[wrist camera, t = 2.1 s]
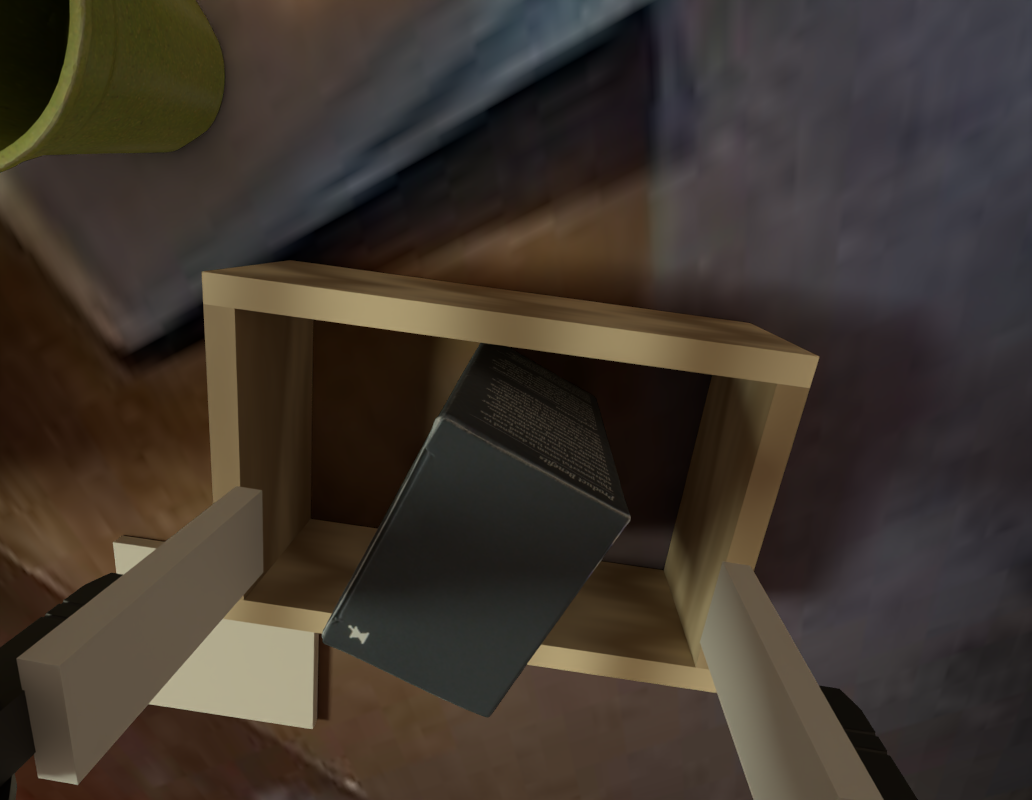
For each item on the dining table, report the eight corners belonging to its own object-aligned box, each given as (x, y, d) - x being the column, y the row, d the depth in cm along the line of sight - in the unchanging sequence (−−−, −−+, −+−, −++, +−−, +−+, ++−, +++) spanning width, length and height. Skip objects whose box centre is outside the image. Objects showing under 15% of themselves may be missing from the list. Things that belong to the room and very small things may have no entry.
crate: (290, 533, 27) (218, 618, 21) (290, 259, 23) (201, 271, 17) (680, 591, 26) (716, 692, 20) (750, 323, 22) (819, 356, 16)
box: (512, 532, 26) (487, 728, 16) (405, 475, 25) (309, 641, 15) (601, 395, 24) (638, 522, 13) (486, 330, 23) (435, 411, 13)
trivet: (139, 692, 30) (131, 701, 30) (122, 535, 27) (112, 542, 27) (317, 719, 30) (312, 729, 29) (320, 564, 27) (315, 571, 26)
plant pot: (25, 159, 22) (-291, 118, 14) (25, -124, 19) (-375, -390, 11) (252, 226, 22) (76, 226, 14) (286, -43, 19) (88, -243, 11)
